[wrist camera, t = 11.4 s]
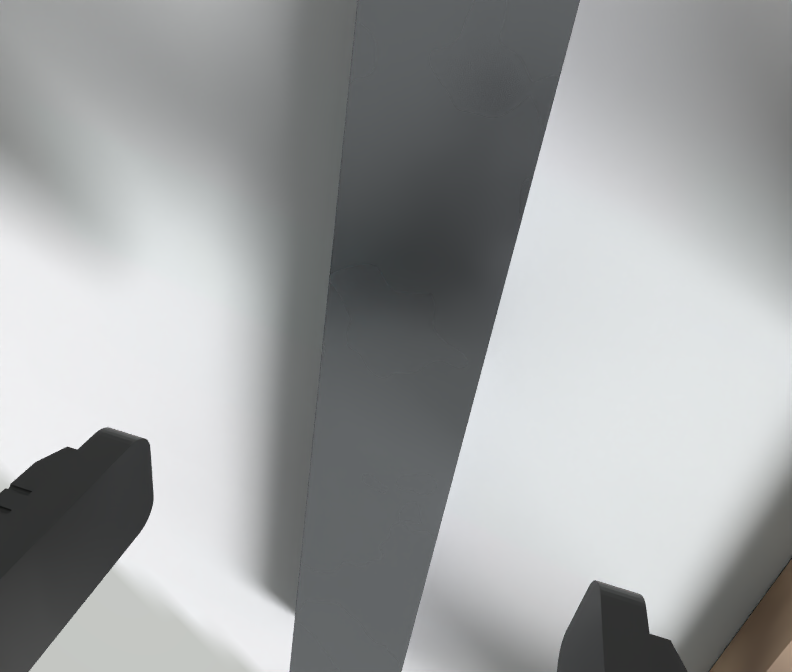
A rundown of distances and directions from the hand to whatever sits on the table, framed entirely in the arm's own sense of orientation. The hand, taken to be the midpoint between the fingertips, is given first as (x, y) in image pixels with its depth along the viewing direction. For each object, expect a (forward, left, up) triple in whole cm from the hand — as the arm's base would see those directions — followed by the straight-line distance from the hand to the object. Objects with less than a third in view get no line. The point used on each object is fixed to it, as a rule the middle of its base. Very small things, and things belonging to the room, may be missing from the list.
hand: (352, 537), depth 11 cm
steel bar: (+1, 0, -5) cm, 5 cm away
